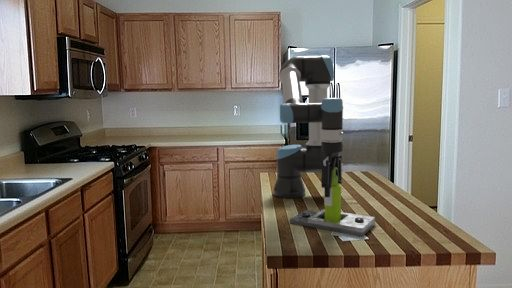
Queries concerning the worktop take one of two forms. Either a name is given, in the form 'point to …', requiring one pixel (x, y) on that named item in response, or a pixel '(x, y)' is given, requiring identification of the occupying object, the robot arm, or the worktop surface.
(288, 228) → the worktop surface
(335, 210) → the soap dispenser
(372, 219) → the upper link
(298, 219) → the lower link
